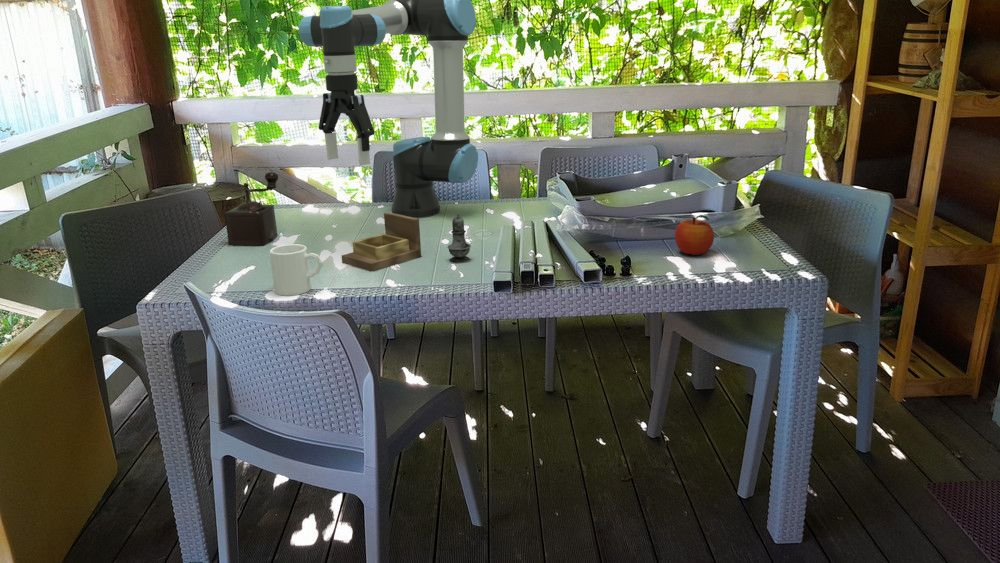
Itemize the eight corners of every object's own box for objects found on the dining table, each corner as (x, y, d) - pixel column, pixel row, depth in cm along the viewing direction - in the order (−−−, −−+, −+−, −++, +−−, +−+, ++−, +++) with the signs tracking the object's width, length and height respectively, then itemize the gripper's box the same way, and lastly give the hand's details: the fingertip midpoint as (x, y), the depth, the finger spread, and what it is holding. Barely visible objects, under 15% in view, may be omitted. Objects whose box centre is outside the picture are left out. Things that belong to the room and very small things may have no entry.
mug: (318, 297, 180) (313, 254, 177) (268, 295, 182) (263, 253, 179) (332, 285, 187) (328, 244, 184) (284, 283, 190) (279, 243, 187)
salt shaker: (444, 258, 206) (442, 212, 202) (466, 255, 208) (464, 209, 204) (452, 264, 200) (450, 217, 197) (474, 261, 203) (473, 214, 199)
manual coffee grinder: (265, 246, 222) (257, 181, 216) (227, 246, 223) (218, 181, 218) (287, 231, 236) (280, 170, 231) (251, 231, 238) (244, 170, 232)
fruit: (683, 246, 210) (684, 208, 207) (718, 251, 205) (721, 212, 202) (667, 255, 203) (669, 216, 200) (704, 260, 197) (706, 220, 194)
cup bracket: (391, 248, 216) (388, 212, 212) (421, 256, 208) (418, 218, 205) (342, 262, 205) (338, 224, 201) (372, 271, 197) (368, 231, 194)
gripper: (299, 73, 201) (308, 158, 207) (358, 76, 184) (366, 169, 190) (324, 71, 206) (332, 154, 212) (385, 74, 189) (391, 164, 196)
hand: (348, 161), depth 201 cm, fingers open, 13 cm apart
